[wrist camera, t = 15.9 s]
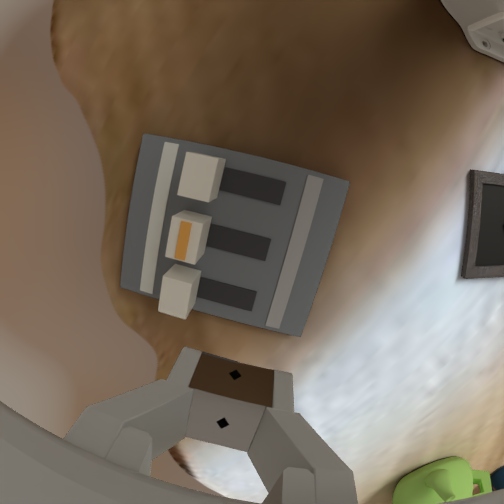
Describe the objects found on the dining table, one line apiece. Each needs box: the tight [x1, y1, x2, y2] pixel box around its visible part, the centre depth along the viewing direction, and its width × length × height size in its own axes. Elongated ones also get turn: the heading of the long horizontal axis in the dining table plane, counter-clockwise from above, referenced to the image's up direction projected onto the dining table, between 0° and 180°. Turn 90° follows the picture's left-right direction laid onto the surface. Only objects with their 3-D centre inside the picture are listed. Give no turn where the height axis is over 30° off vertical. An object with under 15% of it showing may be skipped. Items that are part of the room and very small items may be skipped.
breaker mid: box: [165, 210, 212, 265], centre depth 31 cm, size 3×4×4 cm
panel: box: [120, 134, 350, 337], centre depth 34 cm, size 22×18×2 cm
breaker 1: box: [158, 264, 201, 320], centre depth 33 cm, size 3×4×4 cm
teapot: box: [392, 456, 492, 504], centre depth 38 cm, size 19×20×14 cm
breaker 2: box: [177, 152, 226, 202], centre depth 30 cm, size 3×4×4 cm
